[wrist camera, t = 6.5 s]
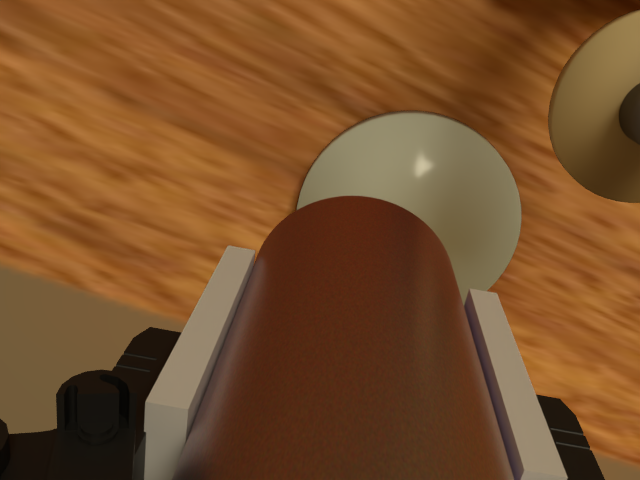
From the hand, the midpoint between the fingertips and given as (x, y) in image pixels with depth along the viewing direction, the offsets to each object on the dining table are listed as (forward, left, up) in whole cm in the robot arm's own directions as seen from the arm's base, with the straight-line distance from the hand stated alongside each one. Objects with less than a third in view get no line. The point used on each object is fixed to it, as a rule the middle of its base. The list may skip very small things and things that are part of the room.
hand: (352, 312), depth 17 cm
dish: (+4, -4, -19) cm, 20 cm away
